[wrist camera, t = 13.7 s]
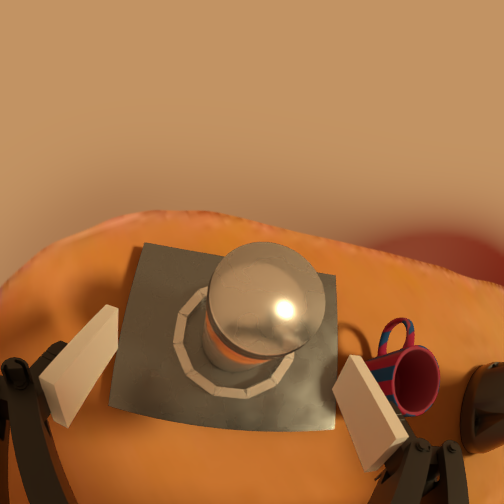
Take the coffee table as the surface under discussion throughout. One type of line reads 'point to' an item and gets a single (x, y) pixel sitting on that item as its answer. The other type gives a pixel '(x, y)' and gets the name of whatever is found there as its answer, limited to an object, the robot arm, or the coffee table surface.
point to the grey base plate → (202, 369)
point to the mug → (406, 372)
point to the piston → (260, 306)
